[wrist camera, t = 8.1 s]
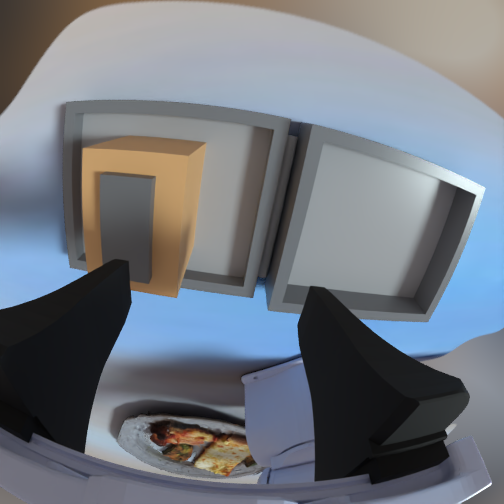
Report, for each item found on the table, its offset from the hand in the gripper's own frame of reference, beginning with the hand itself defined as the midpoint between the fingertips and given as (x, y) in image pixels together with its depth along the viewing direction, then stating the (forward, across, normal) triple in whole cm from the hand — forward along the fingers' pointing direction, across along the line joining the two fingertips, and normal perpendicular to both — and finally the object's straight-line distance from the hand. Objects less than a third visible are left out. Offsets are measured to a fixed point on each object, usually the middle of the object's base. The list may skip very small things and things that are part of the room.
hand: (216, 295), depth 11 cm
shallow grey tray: (+9, +4, -1) cm, 10 cm away
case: (+9, -10, -1) cm, 14 cm away
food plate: (+10, 0, +35) cm, 36 cm away
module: (+8, +4, -1) cm, 10 cm away
